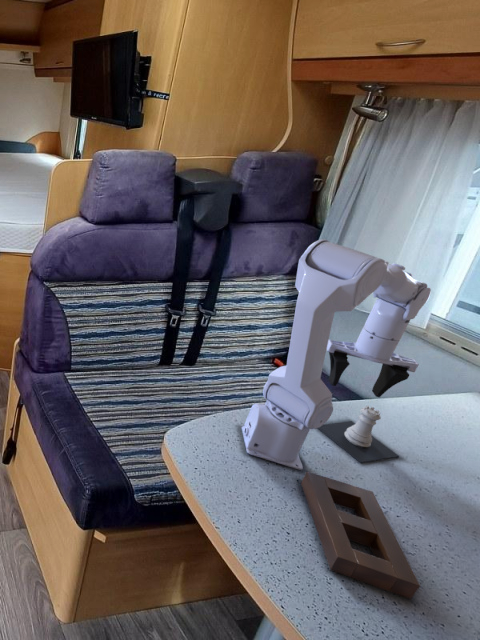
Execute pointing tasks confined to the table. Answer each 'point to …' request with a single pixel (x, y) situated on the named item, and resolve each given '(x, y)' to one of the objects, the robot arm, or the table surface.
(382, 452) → the pad
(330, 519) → the frame
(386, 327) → the robot arm
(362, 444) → the rook chess piece
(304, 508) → the table surface
